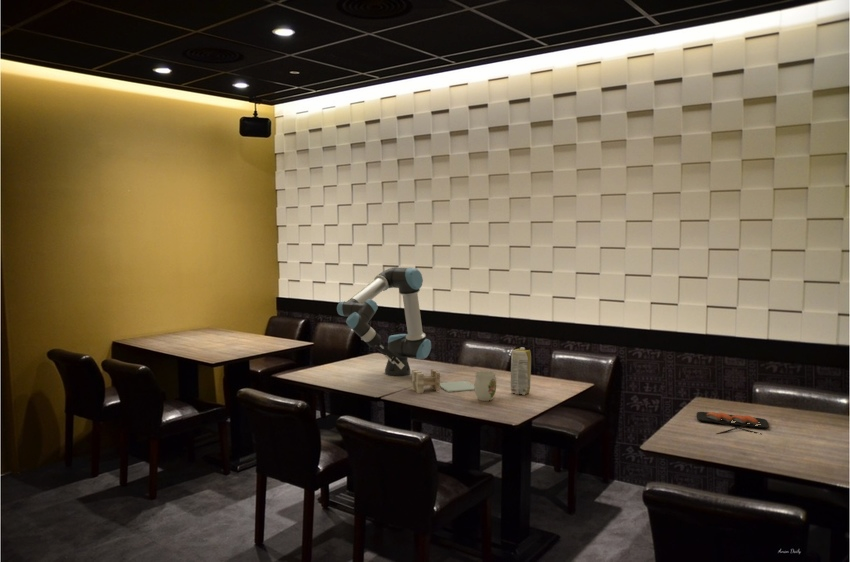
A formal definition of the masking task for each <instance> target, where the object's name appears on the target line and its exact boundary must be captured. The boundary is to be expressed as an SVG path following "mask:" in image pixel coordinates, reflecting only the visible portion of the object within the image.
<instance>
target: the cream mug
mask: <svg viewBox="0 0 850 562" xmlns="http://www.w3.org/2000/svg"><path fill="white" fill-rule="evenodd" d="M474 374H475V380H474V382H473V383H474V384H473V385H474V389H475V390H474V393H475V396H476V398H477V399H478V401H481V400H482V401H483V402H489V400H490V401H492V399H493V398H494V397H495V394H496V390H497V376H496V375H497V374H496V372H493V371H487V370H486V371H485V370H484V371H483V370H482V371H475V373H474Z"/></svg>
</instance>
